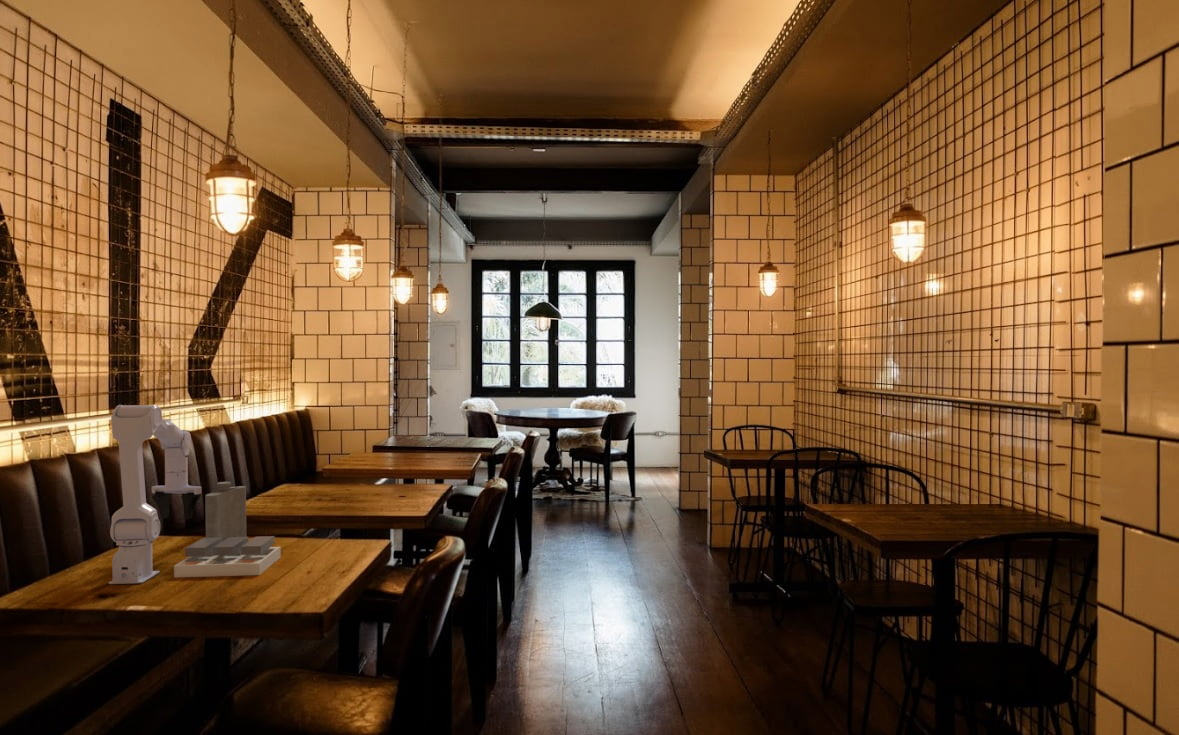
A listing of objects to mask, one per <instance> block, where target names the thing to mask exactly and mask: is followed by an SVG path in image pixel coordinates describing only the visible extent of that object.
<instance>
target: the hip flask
mask: <svg viewBox="0 0 1179 735" xmlns="http://www.w3.org/2000/svg"><path fill="white" fill-rule="evenodd" d="M216 484H217V485H216V486H217V491H213V492H210V493H207V494H205V495H204V496H205V497H204V498H205V504H204V505H205V538H220V537H222V542H223V541H224V540H226V539H227V538H229V537H247V486H245V485H239V486H232V482H231V481H219V482H217V483H216Z"/></svg>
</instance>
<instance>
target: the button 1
mask: <svg viewBox="0 0 1179 735" xmlns="http://www.w3.org/2000/svg"><path fill="white" fill-rule="evenodd" d="M221 542H222V537H220V538H206V537H202V538H201V539H198V540H197V541H195V542H193V543H192V544H189V545H188V546H185V547H184V556H185V557H190V556H206V555H207V554H209V553H211V552H212V551H213V547H214V546H216V545H218V544H219V543H221Z"/></svg>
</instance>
